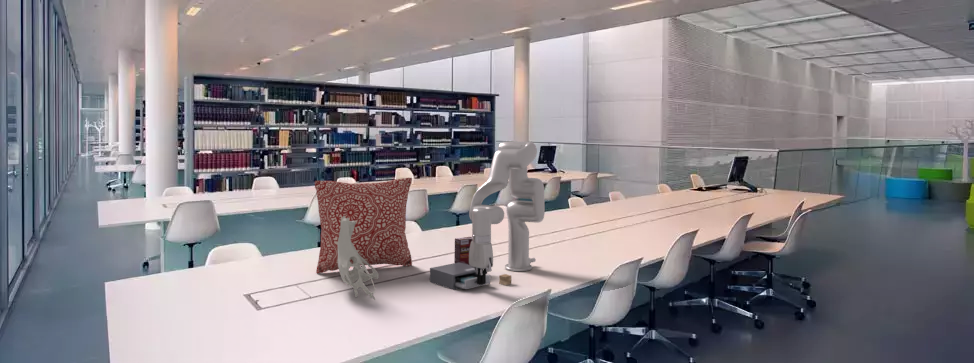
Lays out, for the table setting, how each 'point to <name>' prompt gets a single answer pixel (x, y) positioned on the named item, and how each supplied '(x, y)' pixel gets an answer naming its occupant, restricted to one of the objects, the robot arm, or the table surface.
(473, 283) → the tray
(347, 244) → the sculpture
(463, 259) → the supplement box
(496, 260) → the table surface
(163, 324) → the table surface
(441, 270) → the box
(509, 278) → the tan cube
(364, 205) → the pillow
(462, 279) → the dome with round knob
